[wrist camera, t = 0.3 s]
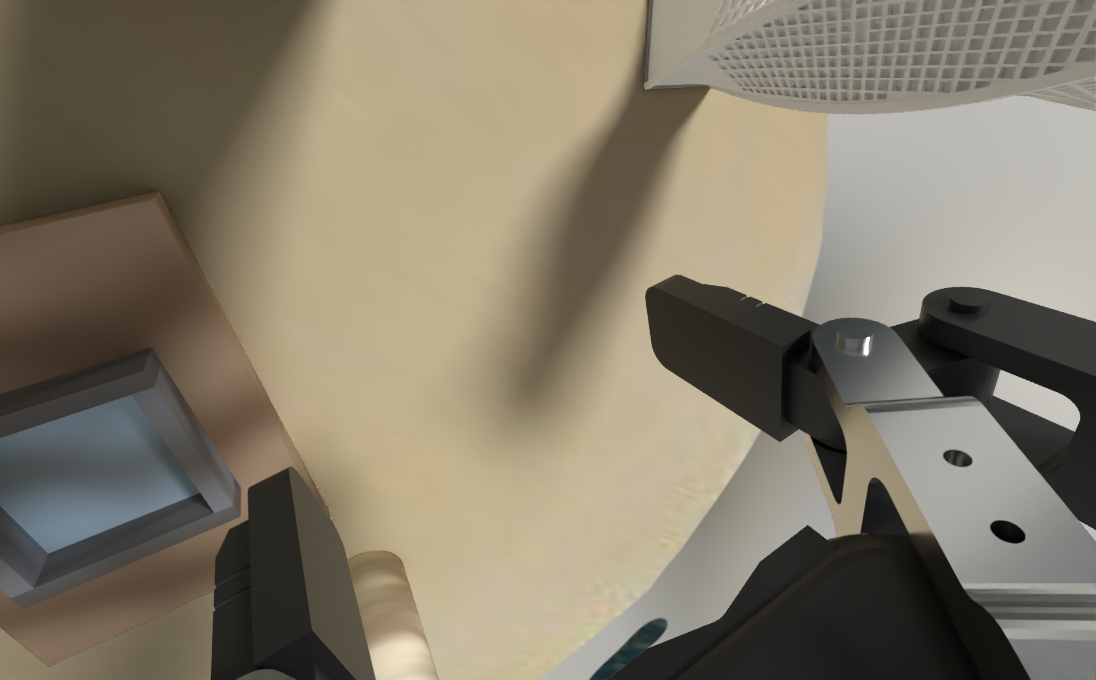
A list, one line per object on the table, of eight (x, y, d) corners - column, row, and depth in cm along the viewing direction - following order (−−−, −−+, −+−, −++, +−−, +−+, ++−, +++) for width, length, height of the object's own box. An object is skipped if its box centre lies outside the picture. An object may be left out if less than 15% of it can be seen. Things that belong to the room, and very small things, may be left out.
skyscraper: (727, 109, 34) (1645, 183, 12) (623, 117, 30) (1613, 241, 8) (748, -52, 30) (2203, -407, 8) (630, -62, 27) (2549, -723, 4)
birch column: (312, 576, 33) (344, 825, 22) (391, 538, 35) (456, 752, 24) (340, 621, 36) (380, 864, 25) (412, 584, 38) (480, 796, 27)
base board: (-319, 296, 17) (-456, 350, 14) (159, 190, 22) (142, 212, 18) (59, 632, 27) (34, 709, 24) (329, 512, 32) (338, 563, 29)
